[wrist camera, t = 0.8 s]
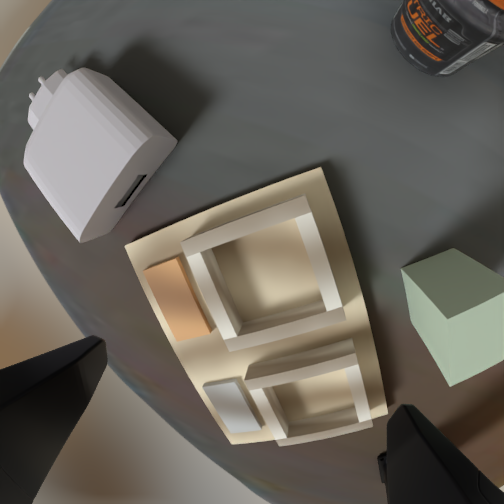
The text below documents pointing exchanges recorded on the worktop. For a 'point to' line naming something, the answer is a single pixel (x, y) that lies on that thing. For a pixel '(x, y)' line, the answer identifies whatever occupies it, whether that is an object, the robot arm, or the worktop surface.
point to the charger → (91, 149)
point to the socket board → (267, 314)
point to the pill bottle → (447, 32)
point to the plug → (457, 312)
